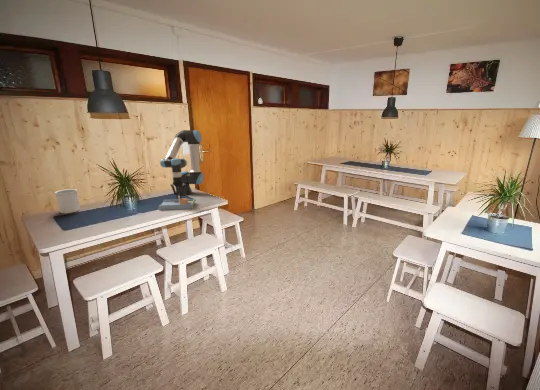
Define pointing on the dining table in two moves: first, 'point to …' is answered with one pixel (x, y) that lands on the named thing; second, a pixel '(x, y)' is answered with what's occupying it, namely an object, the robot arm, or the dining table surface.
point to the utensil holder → (68, 200)
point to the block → (183, 201)
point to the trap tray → (176, 204)
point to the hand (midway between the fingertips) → (179, 202)
